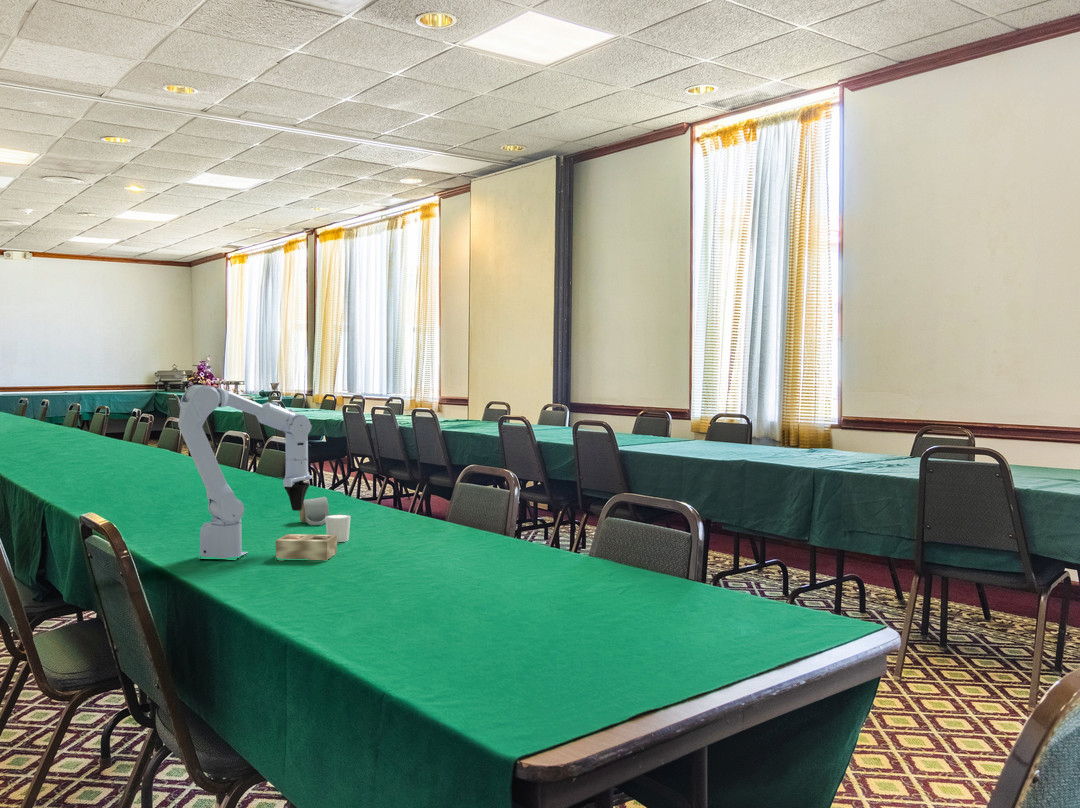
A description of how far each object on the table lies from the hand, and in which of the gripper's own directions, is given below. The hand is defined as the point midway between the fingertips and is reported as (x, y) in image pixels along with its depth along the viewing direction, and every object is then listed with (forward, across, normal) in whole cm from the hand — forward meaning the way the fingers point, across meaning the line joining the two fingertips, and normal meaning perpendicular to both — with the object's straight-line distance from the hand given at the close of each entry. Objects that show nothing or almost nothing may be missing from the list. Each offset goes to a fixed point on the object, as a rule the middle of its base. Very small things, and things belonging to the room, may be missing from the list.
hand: (297, 510), depth 225 cm
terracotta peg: (+10, -10, -2) cm, 14 cm away
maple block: (+10, -10, -6) cm, 15 cm away
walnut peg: (+10, -10, -10) cm, 17 cm away
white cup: (+10, +10, -8) cm, 16 cm away
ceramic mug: (+10, +36, +7) cm, 38 cm away
